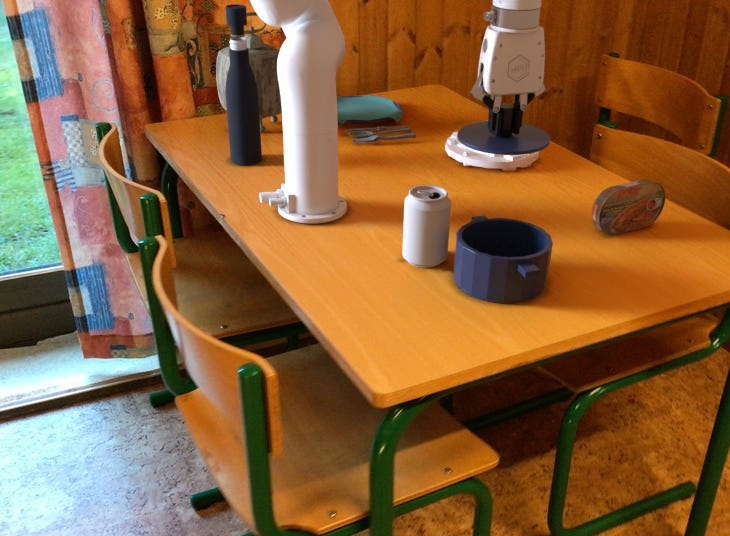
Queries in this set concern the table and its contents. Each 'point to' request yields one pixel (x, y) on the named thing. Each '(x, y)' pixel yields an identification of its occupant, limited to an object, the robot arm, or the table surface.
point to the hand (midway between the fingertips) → (504, 131)
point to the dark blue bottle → (241, 94)
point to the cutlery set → (370, 116)
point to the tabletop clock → (255, 74)
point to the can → (426, 226)
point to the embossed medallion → (486, 156)
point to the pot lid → (504, 136)
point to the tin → (628, 206)
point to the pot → (502, 259)
